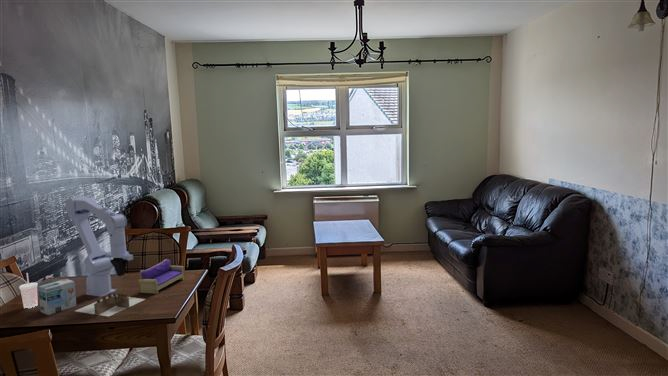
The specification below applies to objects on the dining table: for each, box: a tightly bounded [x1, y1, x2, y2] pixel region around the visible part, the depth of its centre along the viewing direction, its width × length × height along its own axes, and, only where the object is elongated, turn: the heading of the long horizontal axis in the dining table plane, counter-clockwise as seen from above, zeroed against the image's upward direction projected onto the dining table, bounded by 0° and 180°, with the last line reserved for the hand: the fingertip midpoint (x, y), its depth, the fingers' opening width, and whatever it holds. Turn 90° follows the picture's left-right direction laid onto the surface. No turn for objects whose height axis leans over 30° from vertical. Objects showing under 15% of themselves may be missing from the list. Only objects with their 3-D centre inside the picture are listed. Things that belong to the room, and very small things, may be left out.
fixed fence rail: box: [116, 292, 130, 309], centre depth 166 cm, size 5×1×5 cm, turn 69°
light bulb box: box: [37, 278, 77, 316], centre depth 165 cm, size 11×7×11 cm, turn 148°
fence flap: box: [94, 292, 117, 316], centre depth 163 cm, size 10×1×5 cm, turn 164°
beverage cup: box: [18, 272, 39, 309], centre depth 170 cm, size 6×6×14 cm
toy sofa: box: [138, 258, 185, 295], centre depth 189 cm, size 21×9×10 cm, turn 166°
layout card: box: [75, 294, 146, 317], centre depth 168 cm, size 18×18×1 cm
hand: (120, 275), depth 175 cm, fingers closed
